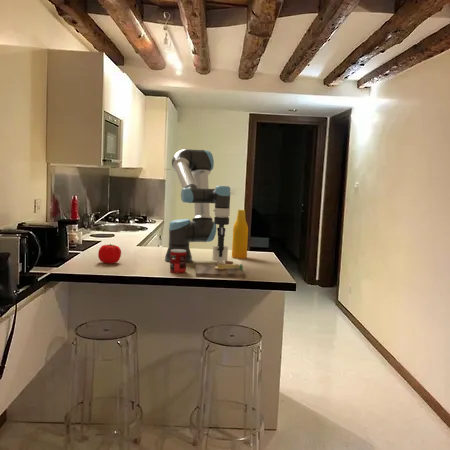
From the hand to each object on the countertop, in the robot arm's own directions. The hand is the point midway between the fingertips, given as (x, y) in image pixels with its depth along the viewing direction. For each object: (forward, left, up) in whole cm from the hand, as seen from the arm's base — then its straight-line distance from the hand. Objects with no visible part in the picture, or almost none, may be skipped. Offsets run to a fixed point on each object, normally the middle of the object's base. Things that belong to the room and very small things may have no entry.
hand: (220, 262), depth 240 cm
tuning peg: (+3, +1, -3) cm, 5 cm away
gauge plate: (0, 0, -5) cm, 5 cm away
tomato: (-58, +14, -5) cm, 60 cm away
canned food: (-21, -3, -5) cm, 22 cm away
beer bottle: (+14, +44, -5) cm, 46 cm away
